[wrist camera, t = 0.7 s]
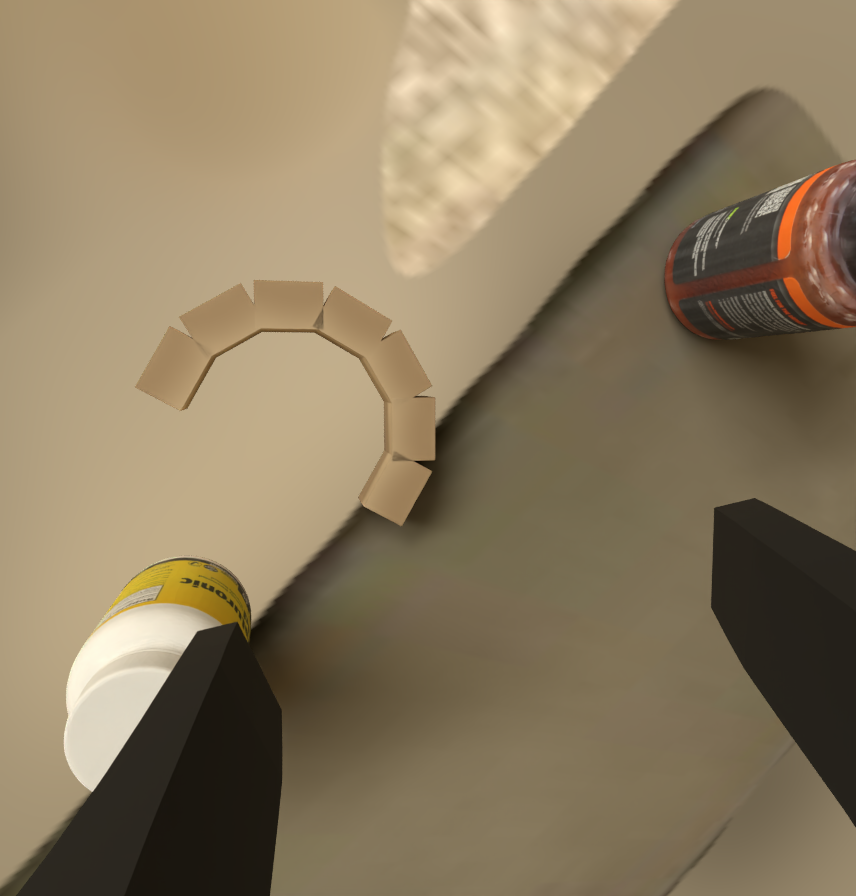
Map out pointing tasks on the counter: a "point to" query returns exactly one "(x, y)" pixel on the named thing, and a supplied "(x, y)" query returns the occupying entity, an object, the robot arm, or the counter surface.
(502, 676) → the counter surface
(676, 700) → the counter surface
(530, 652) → the counter surface
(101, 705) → the supplement bottle
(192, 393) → the oak collar
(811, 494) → the counter surface
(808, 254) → the supplement bottle
